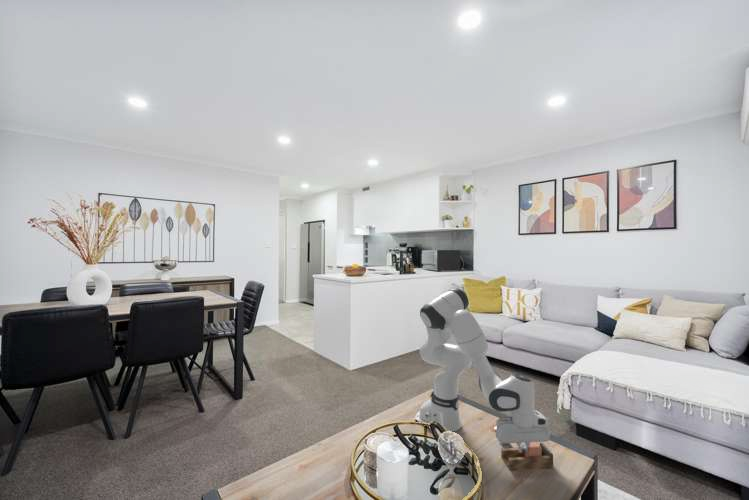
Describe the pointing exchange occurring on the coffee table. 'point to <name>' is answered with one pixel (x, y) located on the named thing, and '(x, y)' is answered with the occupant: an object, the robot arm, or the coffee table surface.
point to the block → (534, 450)
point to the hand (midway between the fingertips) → (522, 451)
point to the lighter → (501, 443)
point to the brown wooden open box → (527, 459)
